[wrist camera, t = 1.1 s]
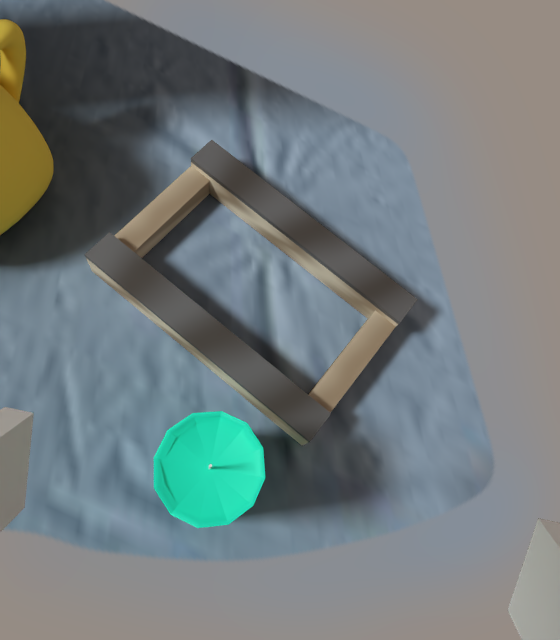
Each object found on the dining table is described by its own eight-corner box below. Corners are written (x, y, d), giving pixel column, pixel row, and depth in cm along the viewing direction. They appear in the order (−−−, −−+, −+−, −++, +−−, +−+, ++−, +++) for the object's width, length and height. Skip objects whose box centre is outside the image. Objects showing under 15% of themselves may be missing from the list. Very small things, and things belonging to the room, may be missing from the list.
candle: (204, 416, 39) (205, 381, 28) (266, 470, 38) (294, 457, 27) (146, 482, 37) (122, 473, 26) (210, 540, 36) (215, 558, 25)
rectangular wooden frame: (92, 271, 41) (84, 254, 38) (211, 161, 46) (211, 139, 43) (302, 445, 39) (310, 441, 36) (403, 312, 44) (417, 299, 41)
